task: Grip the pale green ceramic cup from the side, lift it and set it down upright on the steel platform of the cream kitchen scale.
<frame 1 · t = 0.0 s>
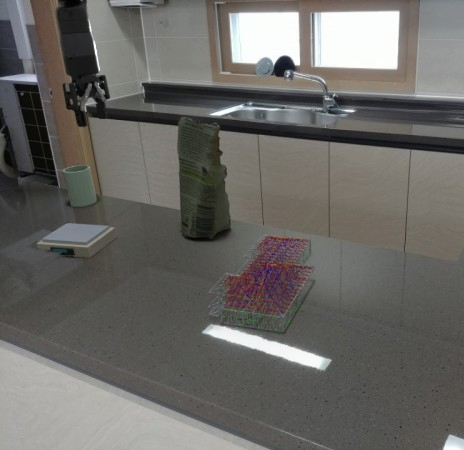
hand: (93, 122, 131), 20 cm above the worktop, tool pointing down, fingers open, 8 cm apart
scale: (79, 245, 113), on the worktop
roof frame: (270, 284, 95), on the worktop
pouch: (209, 232, 117), on the worktop
cup: (84, 206, 135), on the worktop
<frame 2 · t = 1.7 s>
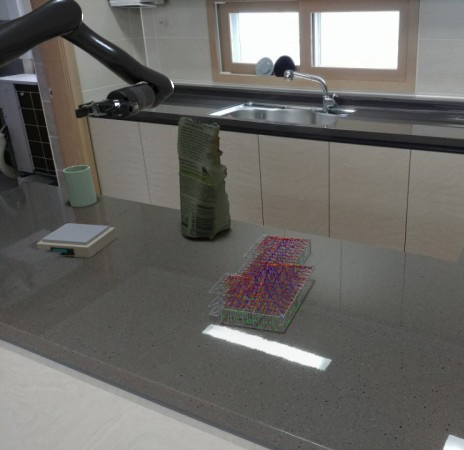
hand: (92, 114, 131), 22 cm above the worktop, tool horizontal, fingers open, 8 cm apart
nothing on the worktop moved.
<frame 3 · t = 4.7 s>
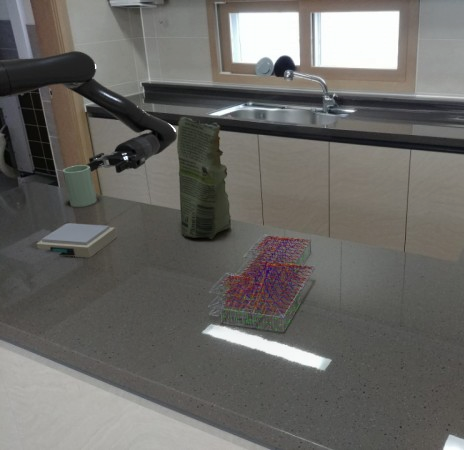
hand: (102, 168, 142), 7 cm above the worktop, tool horizontal, fingers open, 8 cm apart
nothing on the worktop moved.
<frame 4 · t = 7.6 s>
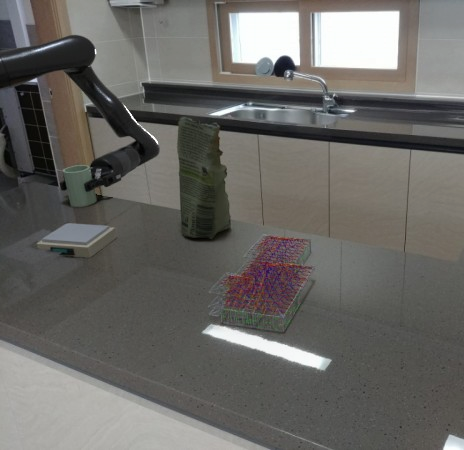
hand: (73, 187, 131), 6 cm above the worktop, tool horizontal, fingers closed on cup, 6 cm apart
cup: (84, 206, 135), on the worktop, touching gripper
everything else where it was.
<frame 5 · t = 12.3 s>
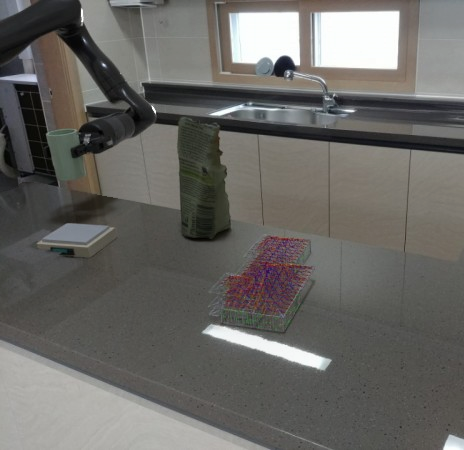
hand: (59, 153, 115), 18 cm above the worktop, tool horizontal, fingers closed on cup, 6 cm apart
cup: (71, 176, 119), point 12 cm above the worktop, touching gripper
everything else where it was.
when the fingers open (9 cm above the worktop, at t = 17.1 s): cup stays where it is, resting on scale.
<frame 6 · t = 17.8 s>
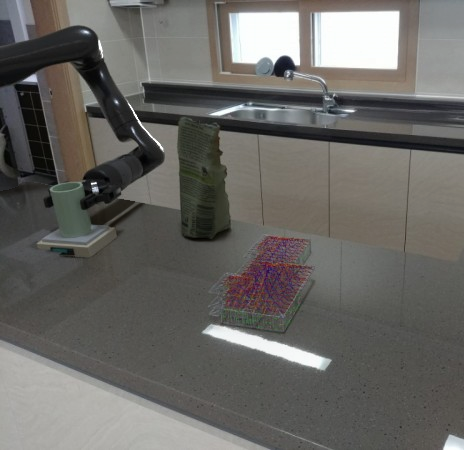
hand: (63, 204, 108), 10 cm above the worktop, tool horizontal, fingers open, 8 cm apart
cup: (76, 232, 112), point 3 cm above the worktop, touching scale
everything else where it was.
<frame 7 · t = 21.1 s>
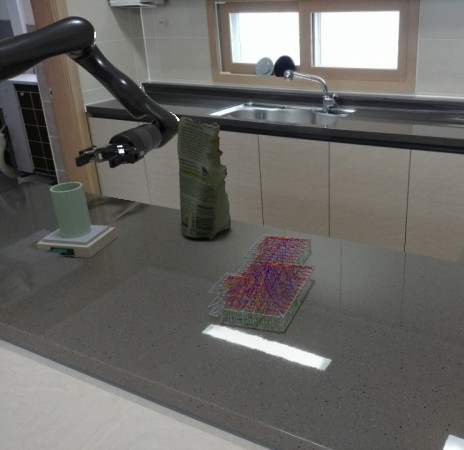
hand: (93, 163, 120), 14 cm above the worktop, tool horizontal, fingers open, 8 cm apart
nothing on the worktop moved.
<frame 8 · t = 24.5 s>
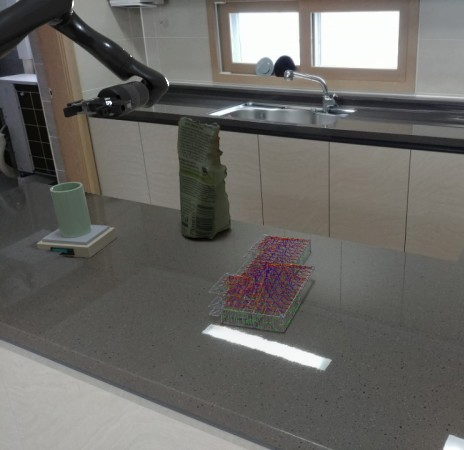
hand: (81, 113, 123), 24 cm above the worktop, tool horizontal, fingers open, 8 cm apart
nothing on the worktop moved.
at the end: cup inside the target area on the scale (0.1 cm from its centre), point 3.1 cm above the scale's base; cup tilted 0° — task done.
